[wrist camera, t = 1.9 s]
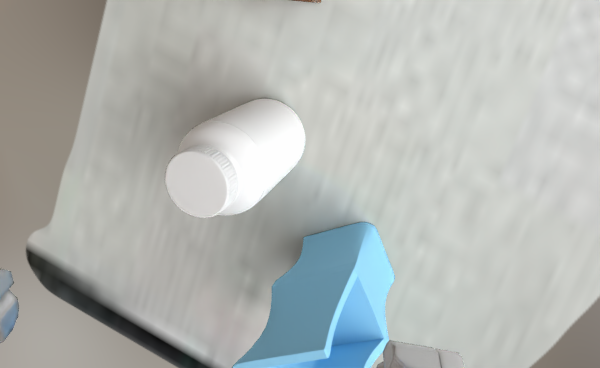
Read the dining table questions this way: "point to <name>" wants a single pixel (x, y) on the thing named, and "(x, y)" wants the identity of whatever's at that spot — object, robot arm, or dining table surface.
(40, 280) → the dining table surface
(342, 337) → the vase
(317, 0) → the brown tray
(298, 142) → the pill bottle
